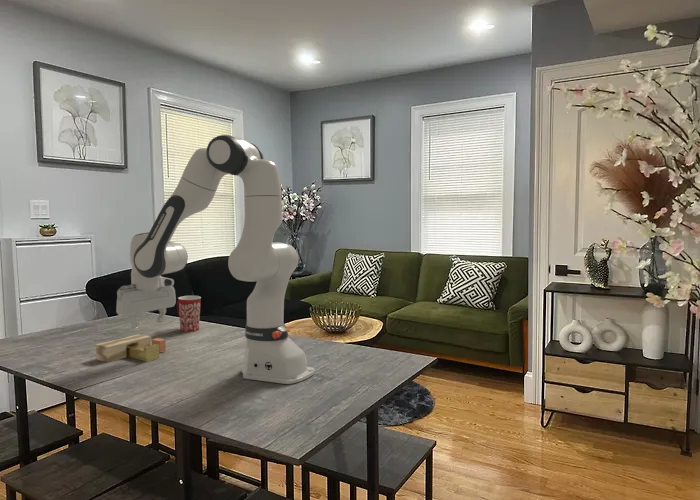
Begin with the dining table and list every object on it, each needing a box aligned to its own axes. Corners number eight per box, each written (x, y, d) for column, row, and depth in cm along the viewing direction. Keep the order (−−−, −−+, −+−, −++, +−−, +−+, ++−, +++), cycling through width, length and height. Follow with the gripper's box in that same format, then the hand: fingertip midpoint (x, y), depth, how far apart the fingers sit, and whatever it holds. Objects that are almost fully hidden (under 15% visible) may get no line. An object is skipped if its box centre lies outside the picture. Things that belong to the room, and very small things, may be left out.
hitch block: (150, 350, 170) (150, 336, 170) (107, 362, 156) (107, 347, 156) (139, 348, 173) (138, 334, 173) (96, 359, 159) (95, 344, 159)
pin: (159, 358, 161) (158, 344, 161) (146, 362, 157) (146, 347, 157) (129, 351, 169) (129, 338, 168) (116, 355, 165) (116, 341, 164)
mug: (206, 329, 202) (205, 297, 201) (186, 333, 195) (186, 300, 194) (188, 325, 210) (188, 293, 209) (169, 328, 203) (168, 296, 202)
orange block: (165, 351, 169) (165, 339, 169) (159, 352, 167) (159, 341, 167) (157, 349, 171) (157, 338, 171) (152, 351, 169) (151, 339, 169)
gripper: (123, 287, 148) (125, 332, 149) (177, 279, 166) (179, 320, 166) (110, 286, 151) (112, 330, 152) (165, 278, 169) (166, 318, 169)
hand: (148, 325), depth 159 cm, fingers open, 8 cm apart
